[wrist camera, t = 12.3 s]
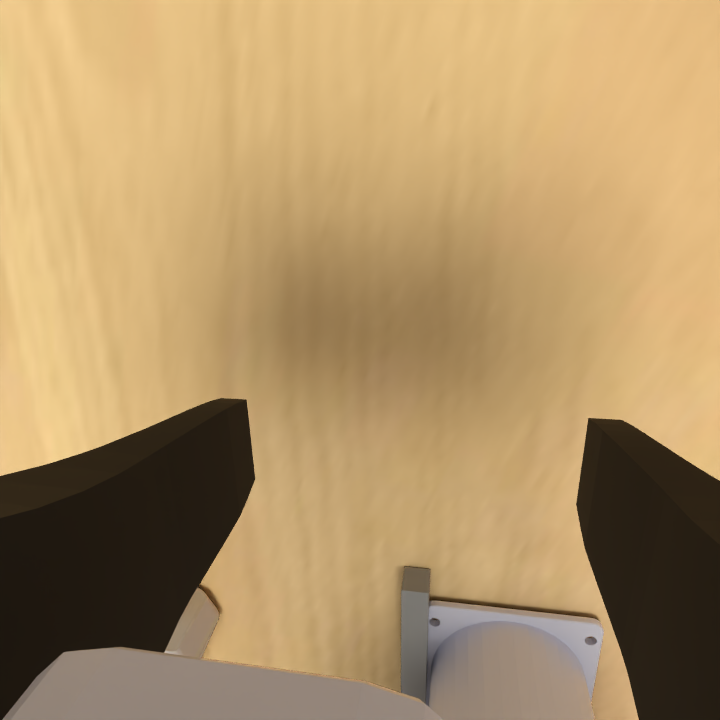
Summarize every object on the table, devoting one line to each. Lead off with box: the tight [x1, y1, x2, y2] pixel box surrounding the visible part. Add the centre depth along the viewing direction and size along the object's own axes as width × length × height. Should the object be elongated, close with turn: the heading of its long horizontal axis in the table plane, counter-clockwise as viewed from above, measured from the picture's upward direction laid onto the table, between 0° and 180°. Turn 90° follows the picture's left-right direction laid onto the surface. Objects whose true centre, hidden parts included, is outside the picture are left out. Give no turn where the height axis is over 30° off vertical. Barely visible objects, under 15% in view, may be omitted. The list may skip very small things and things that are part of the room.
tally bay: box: [401, 567, 430, 704], centre depth 29 cm, size 13×26×2 cm, turn 92°
